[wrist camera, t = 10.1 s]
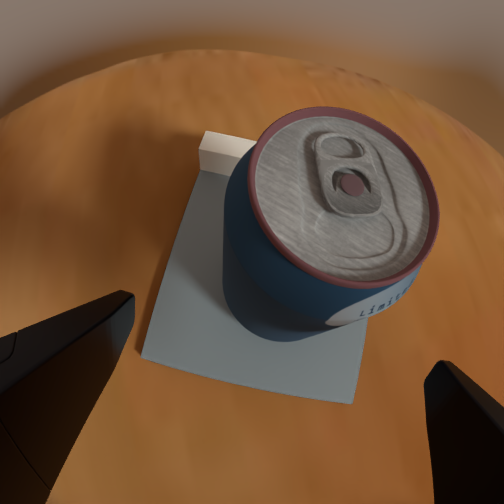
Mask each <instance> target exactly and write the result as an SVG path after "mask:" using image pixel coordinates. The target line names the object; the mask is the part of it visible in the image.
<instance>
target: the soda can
mask: <svg viewBox="0 0 504 504" xmlns="http://www.w3.org/2000/svg"><path fill="white" fill-rule="evenodd" d="M439 218H440V212H439V203H438V198H437V194H436V191H435V188H434V185H433V182H432V180H431V178H430V175H429V173H428V172H427V170H426V168H425V166H424V164H423V163H422V161H421V160H420V158H419V157H418V156H417V154H416V153H415V152H414V151H413V149H412V148H411V147H410V146H409V145H408V144H407V143H406V142H405V141H404V140H403V139H402V138H401V137H400V136H398V135H397V134H396V133H395V132H393V131H392V130H391V129H389V128H388V127H386V126H385V125H383V124H382V123H380V122H378V121H376V120H374V119H373V118H370V117H368V116H366V115H363V114H361V113H358V112H355V111H351V110H347V109H343V108H336V107H311V108H305V109H300V110H297V111H294V112H291V113H289V114H287V115H285V116H283V117H281V118H279V119H278V120H276V121H275V122H274V123H272V124H271V125H270V126H269V127H268V128H267V129H266V130H265V131H264V132H263V134H262V135H261V136H260V138H259V139H258V141H257V143H256V144H255V145H254V146H252V147H251V148H250V149H249V150H248V151H247V152H246V153H245V154H244V155H243V157H242V158H241V159H240V160H239V162H238V163H237V165H236V166H235V168H234V170H233V172H232V174H231V176H230V179H229V181H228V184H227V188H226V192H225V199H224V222H223V272H222V284H223V292H224V296H225V300H226V303H227V305H228V307H229V309H230V311H231V312H232V314H233V316H234V317H235V318H236V319H237V321H238V322H239V323H240V324H241V325H242V326H243V327H245V328H246V329H247V330H248V331H250V332H251V333H253V334H255V335H257V336H259V337H261V338H264V339H267V340H271V341H276V342H293V341H298V340H302V339H305V338H308V337H311V336H314V335H318V334H321V333H324V332H327V331H330V330H333V329H336V328H339V327H342V326H344V325H347V324H350V323H353V322H356V321H359V320H362V319H364V318H367V317H370V316H372V315H375V314H377V313H379V312H382V311H383V310H385V309H387V308H388V307H390V306H391V305H393V304H394V303H395V302H396V301H398V300H399V299H400V298H401V297H402V296H403V295H404V294H405V293H406V291H407V290H408V289H409V288H410V286H411V285H412V283H413V282H414V280H415V278H416V276H417V274H418V272H419V270H420V267H421V265H422V263H423V262H424V260H425V259H426V258H427V256H428V255H429V253H430V251H431V249H432V247H433V245H434V242H435V240H436V236H437V233H438V228H439Z"/></svg>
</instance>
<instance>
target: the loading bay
mask: <svg viewBox="0 0 504 504" xmlns="http://www.w3.org/2000/svg"><path fill="white" fill-rule="evenodd" d="M256 143H257V141H252V140H248V139H243V138H239V137H234V136H229V135H225V134H220V133H215V132H210V131H206V132H205V134H204V137H203V139H202V142H201V144H200V146H199V149H198V150H199V162H200V171H199V174H198V177H197V180H196V182H195V185H194V188H193V190H192V193H191V196H190V199H189V201H188V204H187V207H186V210H185V213H184V216H183V219H182V221H181V224H180V227H179V230H178V233H177V236H176V239H175V242H174V245H173V248H172V251H171V254H170V257H169V261H168V264H167V267H166V270H165V273H164V277H163V280H162V283H161V286H160V290H159V293H158V296H157V300H156V303H155V307H154V310H153V313H152V317H151V321H150V324H149V328H148V331H147V335H146V339H145V342H144V346H143V350H142V354H141V358H143V359H146V360H149V361H153V362H156V363H159V364H162V365H166V366H169V367H172V368H176V369H179V370H183V371H186V372H190V373H193V374H197V375H201V376H205V377H209V378H213V379H217V380H221V381H225V382H229V383H233V384H238V385H242V386H247V387H251V388H256V389H261V390H266V391H271V392H276V393H281V394H287V395H292V396H298V397H304V398H311V399H317V400H324V401H331V402H339V403H347V404H352V403H353V399H354V394H355V389H356V385H357V380H358V375H359V369H360V364H361V358H362V353H363V347H364V341H365V335H366V328H367V321H368V317H367V318H364V319H362V320H359V321H356V322H353V323H350V324H347V325H344V326H342V327H339V328H336V329H333V330H330V331H327V332H324V333H321V334H318V335H314V336H311V337H308V338H305V339H302V340H298V341H293V342H276V341H271V340H267V339H264V338H261V337H259V336H257V335H255V334H253V333H251V332H250V331H248V330H247V329H246V328H245V327H243V326H242V325H241V324H240V323H239V322H238V321H237V319H236V318H235V317H234V316H233V314H232V312H231V311H230V309H229V307H228V305H227V303H226V300H225V296H224V292H223V284H222V272H223V222H224V199H225V192H226V188H227V184H228V181H229V179H230V176H231V174H232V172H233V170H234V168H235V166H236V165H237V163H238V162H239V160H240V159H241V158H242V157H243V155H244V154H245V153H246V152H247V151H248V150H249V149H250V148H251V147H252V146H254V145H255V144H256Z"/></svg>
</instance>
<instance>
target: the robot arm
mask: <svg viewBox="0 0 504 504" xmlns="http://www.w3.org/2000/svg"><path fill="white" fill-rule="evenodd" d="M134 319H135V296H134V294H133V293H130V292H127V291H123V290H119V291H116V292H113V293H111V294H108V295H106V296H103V297H101V298H98V299H96V300H93V301H91V302H88V303H86V304H83V305H81V306H78V307H76V308H73V309H71V310H68V311H66V312H63V313H61V314H58V315H56V316H53V317H51V318H48V319H46V320H43V321H41V322H38V323H36V324H33V325H31V326H28V327H26V328H23V329H21V330H19V331H18V332H13V333H11V334H9V335H6V336H4V337H1V338H0V504H45V503H46V501H47V499H48V497H49V495H50V492H51V491H50V490H52V488H53V486H54V484H55V482H56V479H57V477H58V475H59V473H60V471H61V469H62V467H63V465H64V463H65V461H66V459H67V457H68V455H69V453H70V451H71V449H72V447H73V445H74V443H75V441H76V439H77V438H78V436H79V434H80V432H81V430H82V428H83V426H84V424H85V422H86V420H87V419H88V417H89V415H90V413H91V411H92V409H93V407H94V406H95V404H96V402H97V400H98V398H99V396H100V395H101V393H102V391H103V389H104V387H105V386H106V384H107V382H108V380H109V378H110V377H111V375H112V373H113V371H114V369H115V367H116V364H117V362H118V360H119V357H120V355H121V353H122V350H123V348H124V345H125V343H126V341H127V338H128V336H129V334H130V332H131V329H132V327H133V324H134ZM424 396H425V409H426V425H427V434H428V441H429V449H430V457H431V466H432V477H433V489H434V504H504V407H503V406H502V405H500V404H499V403H498V402H497V401H496V400H495V399H494V398H493V397H491V396H490V395H489V394H488V393H487V392H486V391H485V390H483V389H482V388H481V387H480V386H479V385H478V384H476V383H475V382H474V381H473V380H472V379H471V378H469V377H468V376H467V375H466V374H465V373H464V372H462V371H461V370H460V369H459V368H458V367H457V366H455V365H454V364H453V363H452V362H450V361H445V360H440V361H438V362H437V363H436V364H435V366H434V367H433V369H432V370H431V371H430V373H429V374H428V376H427V377H426V379H425V381H424Z"/></svg>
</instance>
